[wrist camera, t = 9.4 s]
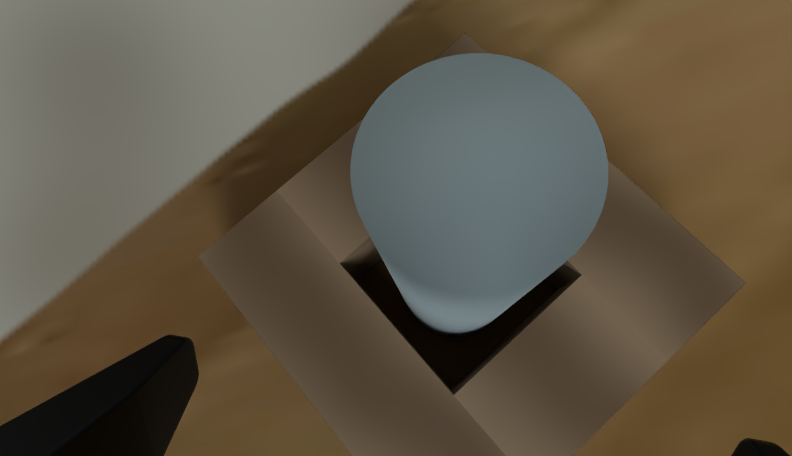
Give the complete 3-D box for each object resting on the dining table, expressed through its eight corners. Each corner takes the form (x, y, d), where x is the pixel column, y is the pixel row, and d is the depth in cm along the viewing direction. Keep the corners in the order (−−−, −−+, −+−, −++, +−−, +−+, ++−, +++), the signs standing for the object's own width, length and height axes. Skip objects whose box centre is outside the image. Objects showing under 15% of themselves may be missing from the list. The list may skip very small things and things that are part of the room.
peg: (490, 349, 21) (578, 325, 8) (391, 320, 22) (316, 251, 8) (514, 251, 22) (630, 81, 9) (419, 226, 23) (391, 31, 9)
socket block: (445, 536, 20) (447, 579, 16) (237, 273, 23) (197, 256, 19) (690, 297, 21) (746, 283, 17) (461, 84, 25) (465, 32, 21)
